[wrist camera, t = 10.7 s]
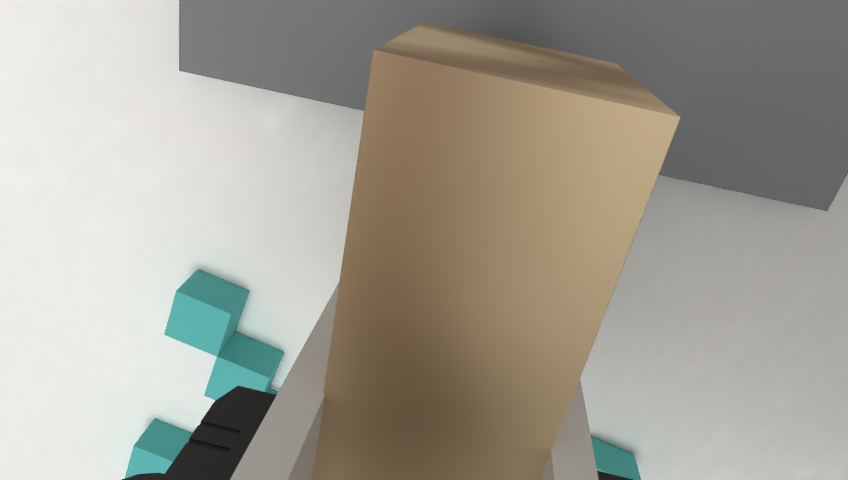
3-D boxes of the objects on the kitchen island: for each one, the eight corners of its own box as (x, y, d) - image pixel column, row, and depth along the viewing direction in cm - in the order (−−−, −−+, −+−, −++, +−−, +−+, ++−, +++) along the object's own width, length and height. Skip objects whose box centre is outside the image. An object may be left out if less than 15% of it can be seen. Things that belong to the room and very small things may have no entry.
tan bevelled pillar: (615, 63, 12) (680, 116, 7) (466, 525, 18) (451, 711, 13) (424, 21, 12) (373, 50, 8) (340, 493, 18) (283, 666, 14)
